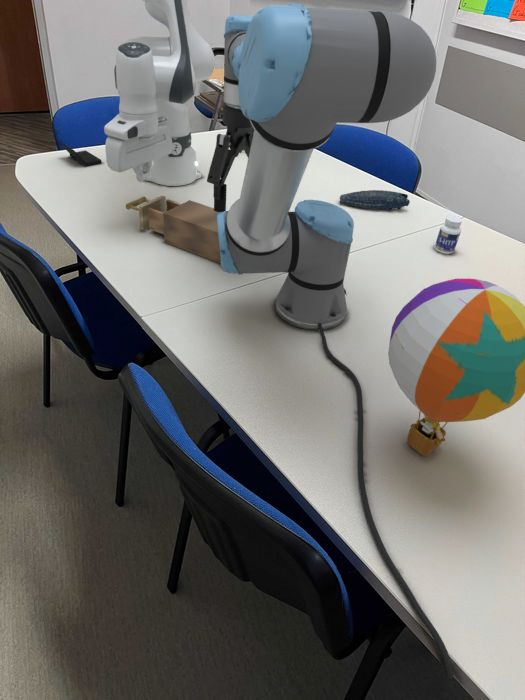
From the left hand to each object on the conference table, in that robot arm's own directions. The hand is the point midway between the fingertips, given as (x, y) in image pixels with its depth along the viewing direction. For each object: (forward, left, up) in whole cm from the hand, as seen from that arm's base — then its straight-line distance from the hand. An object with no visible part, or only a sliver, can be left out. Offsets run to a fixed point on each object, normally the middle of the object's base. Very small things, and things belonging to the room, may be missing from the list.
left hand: (143, 179), depth 132 cm
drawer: (+7, +6, -11) cm, 14 cm away
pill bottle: (+30, +75, -12) cm, 82 cm away
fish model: (0, +69, -12) cm, 70 cm away
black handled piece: (-50, -13, -12) cm, 53 cm away
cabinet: (+16, +13, -12) cm, 24 cm away
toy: (+89, +29, -12) cm, 95 cm away
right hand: (+22, +18, +2) cm, 29 cm away
